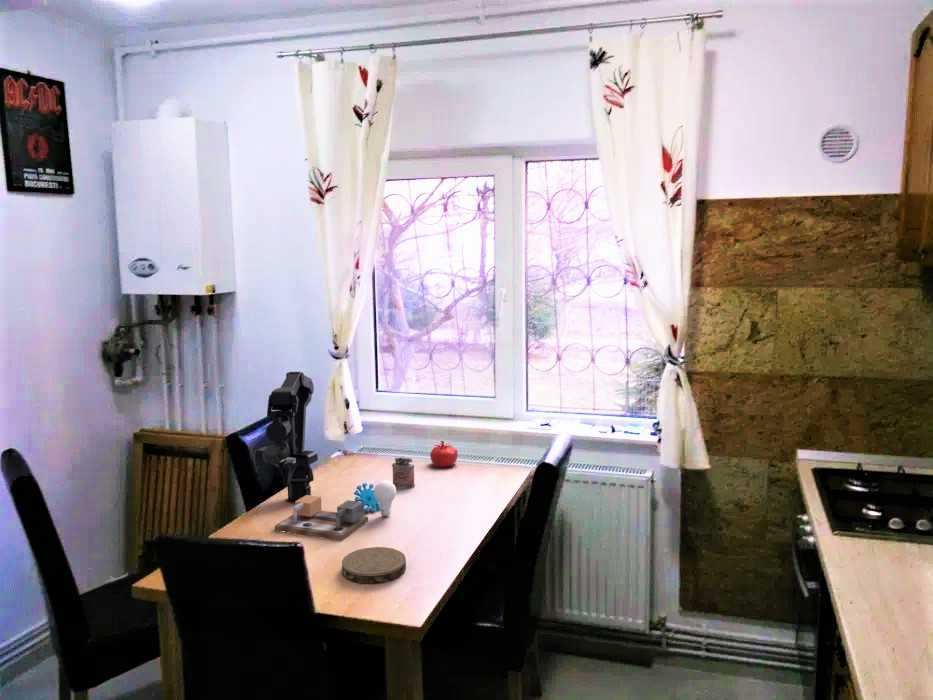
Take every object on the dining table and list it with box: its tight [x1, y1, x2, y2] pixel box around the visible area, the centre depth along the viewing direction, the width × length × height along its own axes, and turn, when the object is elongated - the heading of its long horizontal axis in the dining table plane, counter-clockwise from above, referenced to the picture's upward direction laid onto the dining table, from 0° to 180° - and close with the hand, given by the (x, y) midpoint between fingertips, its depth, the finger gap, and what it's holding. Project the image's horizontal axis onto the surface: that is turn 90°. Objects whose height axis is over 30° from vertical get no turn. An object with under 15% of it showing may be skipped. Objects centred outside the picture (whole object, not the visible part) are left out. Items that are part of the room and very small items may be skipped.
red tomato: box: [429, 440, 459, 468], centre depth 273 cm, size 10×10×9 cm
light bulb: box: [373, 479, 397, 517], centre depth 223 cm, size 7×7×11 cm
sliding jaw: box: [292, 494, 323, 523], centre depth 218 cm, size 5×10×4 cm, turn 159°
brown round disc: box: [341, 546, 407, 586], centre depth 187 cm, size 16×16×3 cm
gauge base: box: [274, 499, 369, 542], centre depth 216 cm, size 22×15×7 cm
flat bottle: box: [391, 456, 416, 489], centre depth 250 cm, size 8×3×10 cm, turn 68°
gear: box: [353, 482, 381, 513], centre depth 231 cm, size 11×6×10 cm
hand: (287, 483), depth 222 cm, fingers closed
